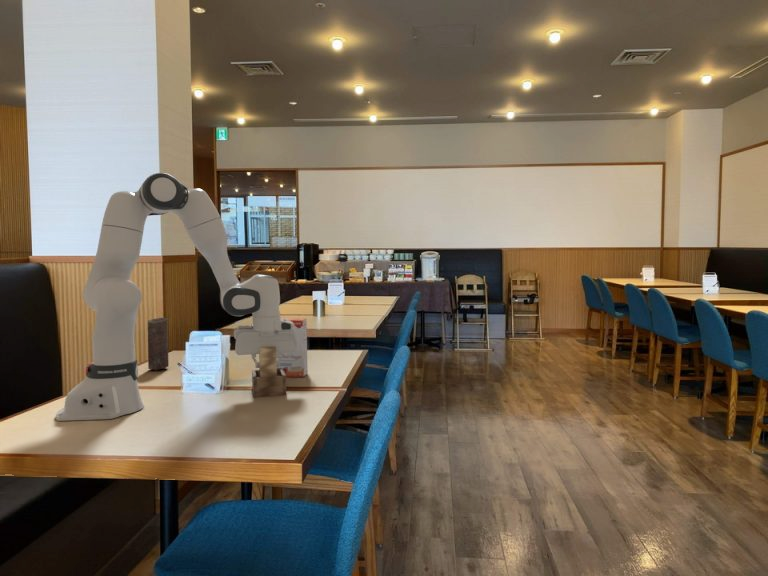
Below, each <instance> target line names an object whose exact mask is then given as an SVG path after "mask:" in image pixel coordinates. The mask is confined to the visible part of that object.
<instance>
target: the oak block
mask: <svg viewBox="0 0 768 576" xmlns="http://www.w3.org/2000/svg"><path fill="white" fill-rule="evenodd" d="M259 361H260V368H258V370H259V374H260V377H271V376H277V367H276V346H274V347H260V354H258V362H259Z"/></svg>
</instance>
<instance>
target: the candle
mask: <svg viewBox="0 0 768 576" xmlns="http://www.w3.org/2000/svg"><path fill="white" fill-rule="evenodd" d="M168 331H169V330H168V318H166V317H155V318H152V319H148V320H147V350H148V351H147V360H148V362H147V364H148V367H147V368H148V369H149V370H152V371H160V370H164V369H166V368H168V367H169V364H170V363H169V337H168V336H169V335H168Z"/></svg>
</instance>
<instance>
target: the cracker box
mask: <svg viewBox="0 0 768 576" xmlns="http://www.w3.org/2000/svg"><path fill="white" fill-rule="evenodd" d="M280 318H281V319H285V320H288V321H291V322H293V323H294V326H295V327H294V329H293V330H295V332H296V333H297V336H298V342H299V349H298V351H297V352H283V357H282V359H281V361H280V366H278V367H277V368H282V369H283V371H284V373H285V375H286V378H304V377H305V376H307V375H308V370H309V369H308V336H307V335H308V333H307V332H308V331H307V330H308V329H307V327H308V326H307V318H295V317H294V318H290V317H289V318H288V317H287V318H286V317H285V318H284V317H283V318H282V317H280ZM279 357H280V356H279V353H276V360H278V358H279Z"/></svg>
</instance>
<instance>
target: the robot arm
mask: <svg viewBox="0 0 768 576" xmlns="http://www.w3.org/2000/svg"><path fill="white" fill-rule="evenodd" d="M170 212H171V213H174V214H176V215H177V216H178V217H179V219H180V220H181V222H182V224H183V227H184V229H185V231H186V233H187V236H188V237H189V239H190V240H191V242H192V244H193V245H194V247H195V248H196V249H197V251H198V252H199V253H200V255H202V257H204V259H205V260H206V262H207V263H208V264H209V267H210V268H211V270H212V273H213V275H214V277H215V279H216V282H217V284H218V287H219V302H220V305H221V308H222V309H223V310H224V311H225V312H227V313H228V314H229V315H231V316H234V317H242V316H245V315H249V314H252V324H251V325H250V324H249V325H238V326H237V327H236V328H234V329H233V337H234V339H235V348H234V350H235V351H234V352H235V354H236V355H237V356H246V355H251V359H252V361H253V362H254V364H255V365H254V368H255V369H257V368H258V369H259V368H260V361H259V360H257V359H256V358H257V355H259V354H260V347H274V346H276V353H279V356H280V357H279V358H278V360H276V367H278V366H280V361H281V359H282V357H283V352H297V351H298V349H299V342H298V336H297V333H296V332H295V330H293V329H294V327H295V326H294V323H293V322H291V321H288V320H285V319H281V318H282V317H281V312H280V304H281V295H280V283H279V281H278V280H277V278H276V277H274V276H271V275H268V274H266V275H265V274H259V273H258V274H254V275H252V276H251V277H250V278H249V279H247V280H245V281H243V282H241V281H240V280H239V279H238V277H237V274H236V273H235V270H234V268H233V265H232V263H231V261H230V258H229V256H228V255H229V254H228V248H227V247H228V236H227V231H226V228H225V225H224V221H223V220H222V218H221V215H220V214H219V211H218V209H217V207H216V206H215V204H214V202H213V201H212V199H211V198H210V196H209V194H208V193H207V192H206V191H205V190H203V189H201V188H189V189H188V187H187V186H186V185H184V184H183V183H182V182H180V181H179V180H178V179H177V178H176V177H174V176H173V175H171V174H169V173H165V172H157V173H153V174H150V175H149V176H148V177H146V179H145V180H144V181H143V182H142V183H141V186H140V187H139V189H138V190H136V191H132V192H131V191H129V190H128V191H127V190H126V191H125V190H122V191H117V192H116V191H115V192H114V193H113V194H111V196H110V198H109V200H108V201H107V205H106V208H105V210H104V214H103V218H102V223H101V228H100V234H99V240H98V245H97V249H96V250H97V251H96V254H95V258H94V261H93V263H92V266H91V267H90V271H89V273H88V278H87V280H86V283H85V285H84V287H83V288H82V298H83V301H84V302H85V304H86V305H87V307H88V308H90V309H91V310H92V311H93V312H96V313H95V314H96V315H95V322H94V323H95V325H94V330H93V333H92V335H91V344H92V345H91V346H92V362H89V363H88V364H87V365H86V367H85V370H84V371H85V372H84V373H85V376H86V377H85V378H84V379H83V380H82V381H80V382H79V383H78V384H77V385H76V386H74V387H73V388H72V389H71V390H70V391H69V392H68V393H67V394H66V397H65V401H64V407H62V408H61V409H59V410H58V411H57V412H56V414H55V420H56V421H58V422H59V421H60V422H61V421H62V422H65V421H91V420H112V419H116V418H119V417H121V416H125V415H128V414H133V413H135V412H138V411H140V410H142V409H143V408H144V403H143V401H142V397H141V393H140V389H139V384H138V377H139V367H138V366H139V365H138V360H137V359H136V343H135V334H136V333H135V332H136V323H137V317H138V311H139V307H140V306H141V304H142V300H143V297H142V296H143V295H142V291H141V289H140V287H139V286H138V285H137V284H136V283H135V282H133V280H130V279H131V275H132V272H133V270H134V268H135V266H136V264H137V263H138V262H139V260H140V253H141V247H142V243H143V236H144V230H145V224H146V220H147V218H148V217H149V216H150V217H151V216H160V215H165V214H167V213H170Z"/></svg>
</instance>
